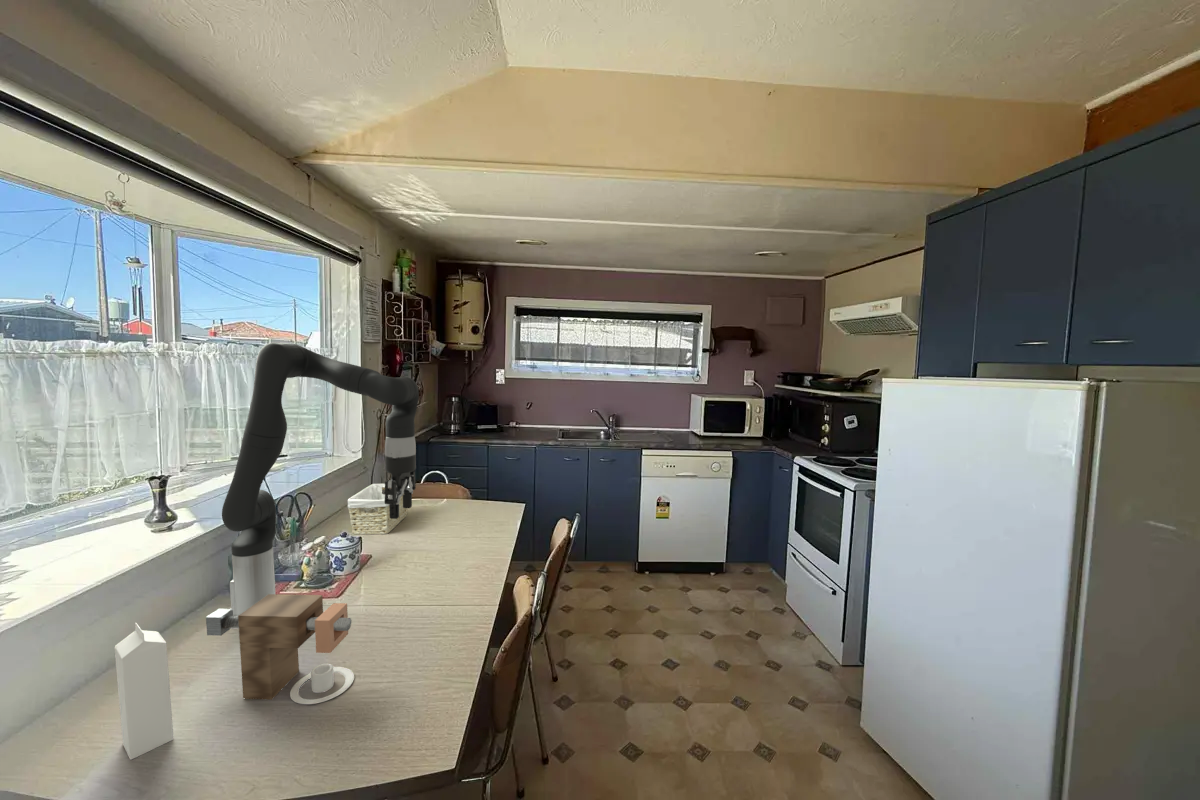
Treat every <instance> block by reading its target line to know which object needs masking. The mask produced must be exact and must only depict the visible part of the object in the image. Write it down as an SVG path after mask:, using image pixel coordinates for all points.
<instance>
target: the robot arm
mask: <svg viewBox="0 0 1200 800" xmlns="http://www.w3.org/2000/svg"><path fill="white" fill-rule="evenodd" d="M254 369H255V370H254V379H253V389H252V395H251V400H250V404H249V410H248V414H247V420H246V423H245V426H244V430H243V433H242V434H243V435H242V439H241V445H240V450H239V453H238V458H237V460H236V461H237V462H236V464H235V469H234V473H233V477H232V480H231V483H230V486H229V488H228V492H227V493H226V496H225V499H224V501H223V504H222V509H221V519H222V522H223V524H224V525H223V526H225V527H226V528H227V529H228V530H230V531H232V532H240V533H239V535H238V536H237V537H236V538H235V540H233V542H232V543H231V550H230V551H231V561H232V580H230V582H229V592H230V595H229V596H230V609H233V616H239V615H240V614H241V613H243V612H244V611H246V610H247V609H248V608H250V607H251V606H253V605H254V604H255V603H257V602H258V601H260V600H261V599H262V598H264V597H265V596H267V595H268V594H276V579H275V578H276V577H275V559H274V539H275V536H276V532H277V529H276V528H277V512H276V511H277V509H276V503H275V499H274V498H273V496H272V495H271V494H270V493H269V492H268V491H266V490H264V489H261V487H262V484H263V481H264V480H265V478H266V477H267V475H268V473H269V472H270V471H271V469H272V467H273V466H274V465H275V463H276V462H277V460H278V459H279V457H280V455H281V453H282V451H283V447H284V444H285V441H286V435H287V431H288V422H287V418H286V414H285V411H284V408H283V403H282V398H283V393H284V392H283V391H284V388H285V384H286V382H287V379H293V378H296V377H297V378H298V377H299V378H301V377H302V378H310V379H317V380H320V381H325V382H326V383H328V384H331V385H333V386H335V387H336V388H338V389H341V390H343V391H347V392H351V393H354V394H358V395H362V396H367V397H369V398H372V399H374V400H376V401H378V402H380V403H383V404H385V405H391V406H392V407H391V412H390V414H388V415H387V416H386V419H385V442H384V443H385V444H384V462H385V463H384V464H385V465H384V469H385V472H386V473H389V474H390V475H391V477H390V480H385V481H384V484H385V490H384V494H385V504H389V509H390V518H391V519H397V518H399V501H400V497H401V496H403V508H407V509H411V508H412V506H413V497H412V495H413V494H414V491H415V490H416V469H417V465H416V464H417V458H416V457H417V454H416V453H417V449H416V448H417V446H416V445H417V444H416V443H417V442H416V437H415V435H416V433H415V424H416V423H415V417H416V414H417V408H418V404H419V394H420V393H419V388H418V385H417V383H416V381H415V380H414V379H412V377H408V376H400V377H392V376H388V375H383V374H381V373H380V372H379V371H377V370H374V369H371V368H367V367H363V366H360V365H356V364H353V363H348V362H343V361H340V360H336V359H333V358H331V357H330V358H329V357H326V356H324V355H322V354H319V353H317V352H314V351H312V350H311V349H308V348H306V347H303V346H301V345H299V344H296V343H291V342H269V343H267V344H264V345H263V346H262V347H261V348H260V350H259V351H258V353H257V356H256V362H255V368H254ZM396 496H397V498H396Z"/></svg>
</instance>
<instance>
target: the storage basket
mask: <svg viewBox="0 0 1200 800" xmlns="http://www.w3.org/2000/svg"><path fill="white" fill-rule="evenodd" d="M383 491H385V483H372V484H370V485H368V486H367V487H365V488H363V489H362V490H360V491H359V492H357V493H356V494H354V495H352V496H351V497H349V498H348V499H347V509H348V513H349V519H350V526H351V530H352V534H354V535H384V534H389V533H390V532H391V531H393V530H394V528H396V526H398V524H399V523H401V522H402V521H403V519H405V518H406V517H407V512H408V510H407V509H408V508H403V496H401V497H400V501H399V518H397V519H391V518H390V509H389V504H385V493H383ZM396 498H397V496H396Z"/></svg>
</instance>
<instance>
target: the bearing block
mask: <svg viewBox="0 0 1200 800" xmlns="http://www.w3.org/2000/svg"><path fill="white" fill-rule="evenodd" d="M323 603H324V602H323V595H322V594H281V593H279V594H276V593H275V594H268V595H267V596H265V597H264V598H262V599H261V600H260V601H258V602H257V603H255V604H254V605H253V606H251V607H250V608H248V609H247V610H246V611H244V612H243V613H241V614H240V615H239V616H238V622H239V629H238V635H239V636H238V638H239V652H240V653H239V654H240V666H241V667H240V668H241V670H240V671H241V684H242V685H241V686H242V699H243V698H245V699H244V700H265V699H266V701H268V700H271V701H273V699H275V697H276V696H277V695H279V693H280V692H281V691H282V690H283V689H284V688H285V687H286V686H287V685H288V684H289V683H290V682H291V681H292V680H291V679H294V678H295V676H297V675H298V674H299V673H300V663H299V662H300V657H299V648H300V647H301V646H302V645H303V644H304V643H306V642H307V641H308V640H309V639H310V638H311V636H313V635H315V630H306V620H307V619H308V618H309V617H319V616H320V615H321V614H322V613H323V612H324V604H323ZM290 680H291V681H290ZM289 681H290V682H289ZM288 682H289V683H288ZM287 683H288V684H287ZM286 684H287V685H286ZM285 685H286V686H285ZM282 688H283V689H282ZM281 689H282V690H281Z"/></svg>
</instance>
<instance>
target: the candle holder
mask: <svg viewBox="0 0 1200 800" xmlns="http://www.w3.org/2000/svg"><path fill="white" fill-rule="evenodd" d="M334 674H340V675H342V676H343V677H344V679H345V681H344V683H343V685H342V687H340V688H339V689H338V690H336V691H335V692H333V693H331V694H329V695H327V696H324V697H320V698H316V699H315V698H314V699H308V698H307V699H306V698H304V697H303V698H302V696H301V695H300V690H299V687H300V686H301V685H302V684H303V683H304V682H305V681H307V680H308V679H310V678H311V679H310V681H311V682H310V683H311V691H312V692H313V693H315V694H321V692H322V693H325V692H327V691H329V690H330V689H332V688H333V687H334V685H335V678H334V677H335V676H334ZM354 679H355V675H354V672H353V670H352V669H349V668H347V667H343V666H334V665H333V664H332V663H322V664H318V665H317V666H315V667H314V668H313V669H312V670H311V671H310V673H308V674H306V675H304V676H303V677H301V678H299V680H297V681H296V683H294V684H293V686H292V687H291V689H290V691H289V695H290V699H291V701H293V702H295V703H296V704H299V705H314V704H319V703H324V702H327V701H331V700H332V699H334V698H336V697H338V696H339V695H341V694H342V693H344V692H345V691H346V690H348V689H349V688H350V687H351V685H352V684H353V682H354ZM308 681H309V680H308ZM308 681H307V682H308ZM304 684H305V683H304ZM304 684H303V685H304ZM303 685H302V686H303ZM302 686H301V687H302ZM298 690H299V691H298ZM324 691H325V692H324Z"/></svg>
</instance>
